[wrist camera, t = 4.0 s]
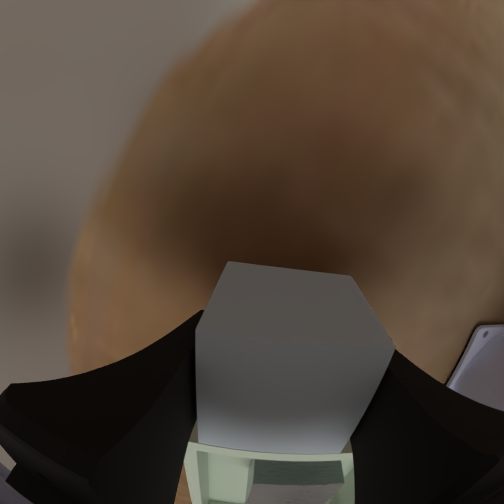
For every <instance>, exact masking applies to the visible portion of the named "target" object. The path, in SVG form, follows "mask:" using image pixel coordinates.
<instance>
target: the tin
mask: <svg viewBox="0 0 504 504" xmlns="http://www.w3.org/2000/svg"><path fill="white" fill-rule="evenodd" d="M344 483H345V482H344V476H343V469H342V463H341V460H336V461H277V460H262V459H251V461H250V465H249V470H248V480H247V490H246V499H245V504H325V503H326V502H327V501H328V500H329V499H330V498H331V497H332V496H333V495H334V494H335V493H336V492H337V491H338V490H339V489H340V488H341V486H342V485H343V484H344Z"/></svg>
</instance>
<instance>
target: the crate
mask: <svg viewBox="0 0 504 504" xmlns="http://www.w3.org/2000/svg"><path fill="white" fill-rule="evenodd" d="M251 459H262V460H277V461H336V460H341V463H342V469H343V476H344V482H345V483H344V484H343V485H342V486H341V488H340V489H339V490H338V491H337V492H336V493H335V494H334V495H333V496H332V497H331V498H330V504H354V502H355V487H354V465H353V454H352V447H351V442H350V438H349V440H348V441H347V443H346V445H345V446H344V448H343V449H342V451H341V452H340V453H337V454H286V453H269V452H257V451H247V450H239V449H231V448H225V447H218V446H212V445H207V444H201V443H198V425H197V420H196V423H195V425H194V428H193V430H192V433H191V436H190V439H189V442H188V446H187V450H186V454H185V458H184V464H185V470H186V476H187V481H188V486H189V491H190V496H191V500H192V504H245V499H246V490H247V480H248V470H249V465H250V461H251Z"/></svg>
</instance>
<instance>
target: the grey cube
mask: <svg viewBox="0 0 504 504" xmlns="http://www.w3.org/2000/svg"><path fill="white" fill-rule="evenodd" d="M395 348H396V347H395V345H394V343H393V342H392V340H391V338H390V337H389V335H388V333H387V332H386V330H385V328H384V327H383V325H382V323H381V322H380V320H379V319H378V317H377V315H376V314H375V312H374V310H373V309H372V307H371V306H370V304H369V303H368V301H367V299H366V298H365V296H364V295H363V293H362V292H361V290H360V289H359V287H358V285H357V284H356V282H355V281H354V279H353V278H352V276H350V275H341V274H332V273H323V272H315V271H306V270H298V269H289V268H281V267H273V266H264V265H256V264H248V263H240V262H232V261H228V262H227V264H226V266H225V268H224V270H223V272H222V274H221V276H220V279H219V281H218V283H217V285H216V287H215V289H214V291H213V293H212V295H211V298H210V300H209V302H208V304H207V306H206V308H205V310H204V312H203V315H202V317H201V319H200V321H199V323H198V325H197V327H196V330H195V351H196V401H197V425H198V443H201V444H207V445H212V446H218V447H225V448H231V449H239V450H247V451H257V452H269V453H286V454H337V453H340V452H341V451H342V449H343V448H344V446H345V445H346V443H347V441H348V440H349V438H350V437H351V435H352V433H353V432H354V430H355V428H356V427H357V425H358V423H359V421H360V420H361V418H362V416H363V414H364V413H365V411H366V409H367V407H368V405H369V403H370V401H371V400H372V398H373V396H374V394H375V392H376V390H377V388H378V386H379V384H380V382H381V380H382V377H383V375H384V373H385V371H386V369H387V367H388V364H389V362H390V360H391V358H392V355H393V353H394V351H395Z"/></svg>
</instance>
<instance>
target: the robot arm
mask: <svg viewBox="0 0 504 504" xmlns="http://www.w3.org/2000/svg"><path fill="white" fill-rule="evenodd" d="M203 312H204V310H200V311H199V312H197V313H196V314H195V315H193V316H192V317H191V318H189V319H188V320H187V321H185V322H184V323H183V324H181V325H180V326H178V327H177V328H176V329H174V330H173V331H171V332H170V333H168V334H167V335H166V336H164V337H163V338H161V339H159V340H158V341H156V342H154V343H153V344H151V345H149V346H148V347H146V348H144V349H143V350H141V351H139V352H137V353H135V354H133V355H131V356H129V357H126V358H124V359H122V360H120V361H117V362H115V363H112V364H110V365H107V366H104V367H101V368H98V369H95V370H92V371H89V372H86V373H82V374H78V375H74V376H70V377H66V378H60V379H56V380H49V381H41V382H30V383H15V384H14V383H13V384H10V385H9V386H8V387H7V389H5V390H4V391H3V393H2V394H1V395H0V445H1V446H2V447H3V448H4V450H5V451H6V452H7V453H8V454H9V455H10V456H11V458H12V459H13V460H14V461H15V462H16V463H17V464H16V466H15V467H14V468H13V470H12V471H10V470H8V469H7V468H6V467H5V466H4V465H2V464H1V463H0V504H174V501H175V496H176V492H177V487H178V483H179V479H180V474H181V470H182V466H183V462H184V458H185V454H186V450H187V446H188V442H189V439H190V436H191V433H192V430H193V428H194V425H195V423H196V420H197V401H196V351H195V330H196V327H197V325H198V323H199V321H200V319H201V317H202V315H203ZM350 442H351V447H352V454H353V465H354V487H355V502H354V504H504V324H501V325H481V326H478V327H477V328H476V329H475V331H474V333H473V335H472V337H471V340H470V342H469V344H468V346H467V348H466V350H465V352H464V354H463V356H462V358H461V360H460V362H459V364H458V365H457V367H456V369H455V371H454V373H453V375H452V376H451V378H450V380H449V381H448V383H447V385H446V386H445V385H444V384H442V383H440V382H439V381H437V380H436V379H434V378H432V377H431V376H430V375H428V374H427V373H425V372H424V371H423V370H421V369H420V368H418V367H417V366H416V365H414V364H413V363H412V362H411V361H409V360H408V359H407V358H406V357H404V356H403V355H402V354H401V353H399V352H398V351H397V350H396V349H395V351H394V353H393V355H392V358H391V360H390V362H389V364H388V367H387V369H386V371H385V373H384V375H383V377H382V380H381V382H380V384H379V386H378V388H377V390H376V392H375V394H374V396H373V398H372V400H371V401H370V403H369V405H368V407H367V409H366V411H365V413H364V414H363V416H362V418H361V420H360V421H359V423H358V425H357V427H356V428H355V430H354V432H353V433H352V435H351V437H350Z"/></svg>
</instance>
